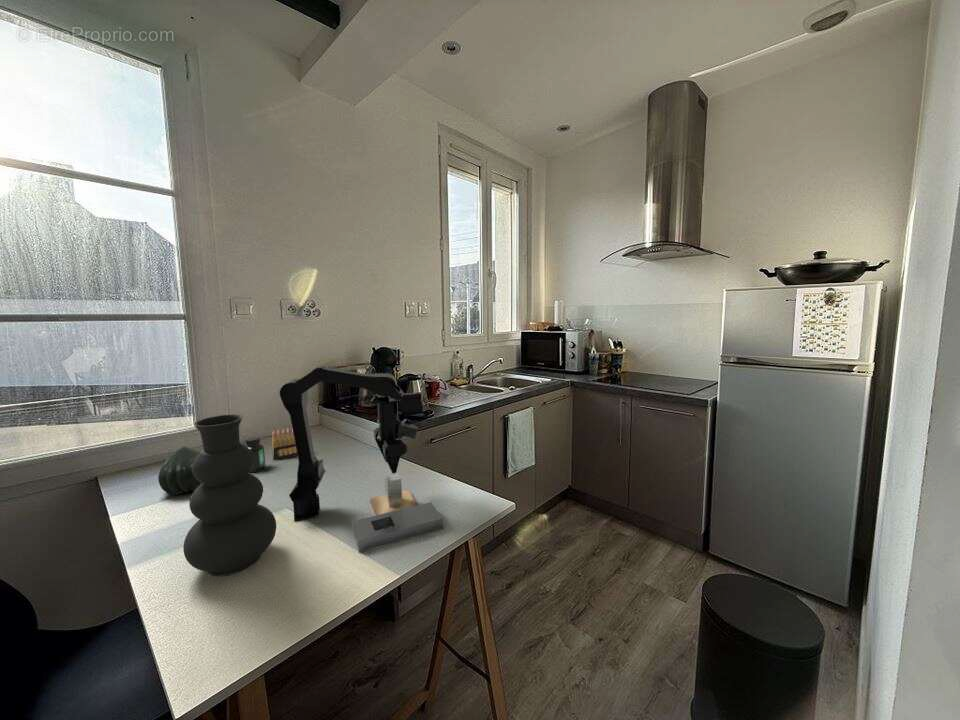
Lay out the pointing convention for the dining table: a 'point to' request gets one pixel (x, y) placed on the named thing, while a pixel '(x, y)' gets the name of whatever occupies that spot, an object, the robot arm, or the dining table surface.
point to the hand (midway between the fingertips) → (390, 467)
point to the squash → (179, 472)
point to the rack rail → (396, 526)
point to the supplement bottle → (256, 453)
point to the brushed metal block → (393, 490)
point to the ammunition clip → (283, 445)
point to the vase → (226, 502)
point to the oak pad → (382, 506)
